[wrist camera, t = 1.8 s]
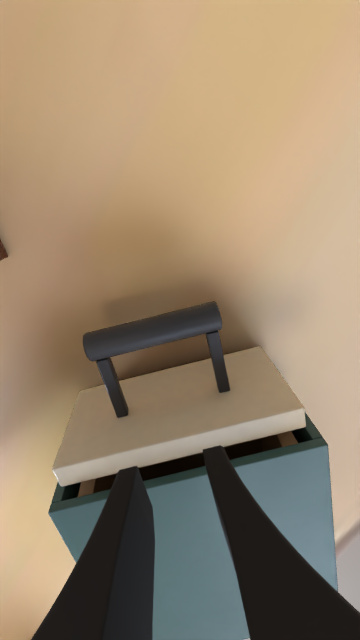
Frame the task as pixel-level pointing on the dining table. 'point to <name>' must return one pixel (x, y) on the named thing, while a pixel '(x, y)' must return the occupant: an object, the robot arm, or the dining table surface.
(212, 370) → the drawer
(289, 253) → the dining table surface
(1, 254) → the dark brown chunk
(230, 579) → the cabinet
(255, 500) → the robot arm
